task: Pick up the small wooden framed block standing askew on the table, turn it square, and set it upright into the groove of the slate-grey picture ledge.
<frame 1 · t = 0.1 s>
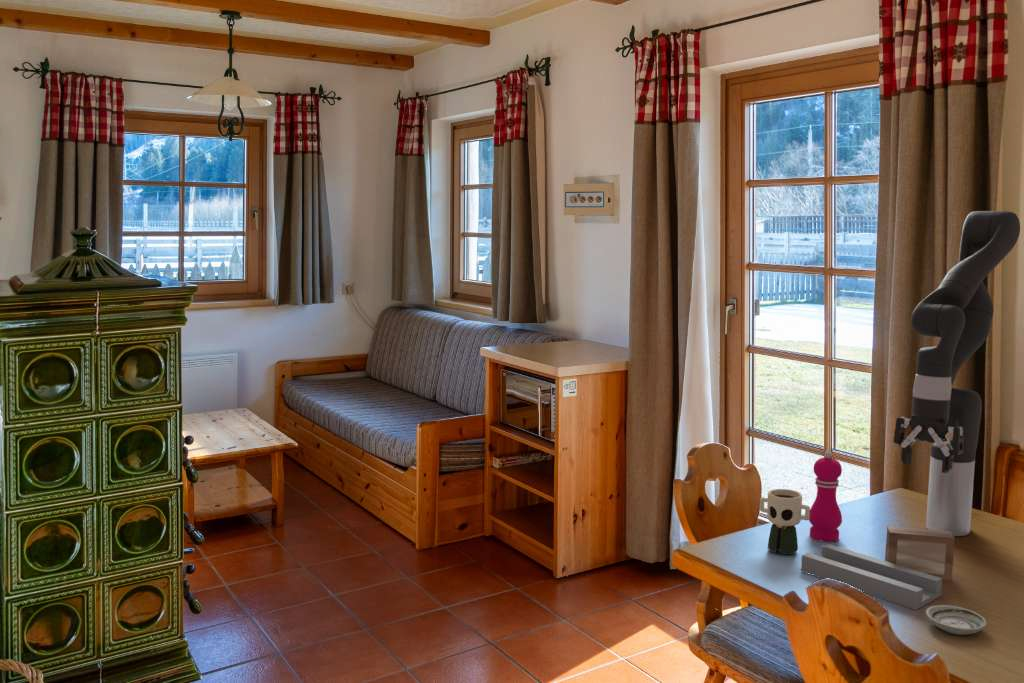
hand: (925, 468, 200), 17 cm above the table, tool pointing down, fingers open, 8 cm apart
wooden framed block: (917, 574, 185), on the table
picture ledge: (868, 583, 180), on the table
saucer: (954, 630, 161), on the table
pepper mill: (824, 537, 207), on the table
character mug: (782, 552, 198), on the table
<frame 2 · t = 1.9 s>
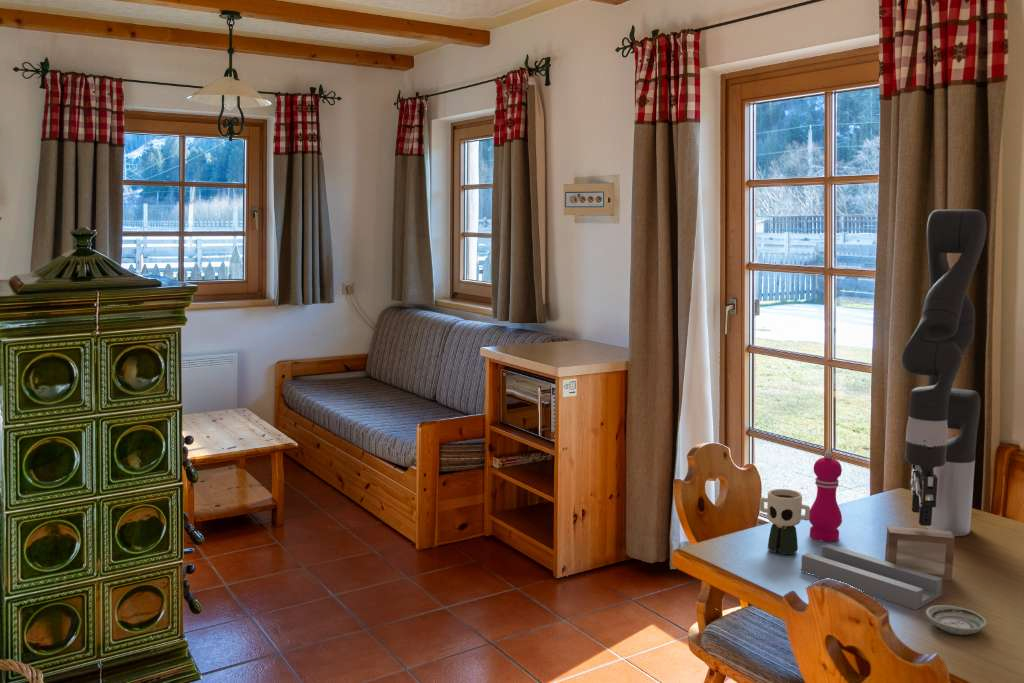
hand: (921, 518, 183), 12 cm above the table, tool pointing down, fingers open, 8 cm apart
nothing on the table moved.
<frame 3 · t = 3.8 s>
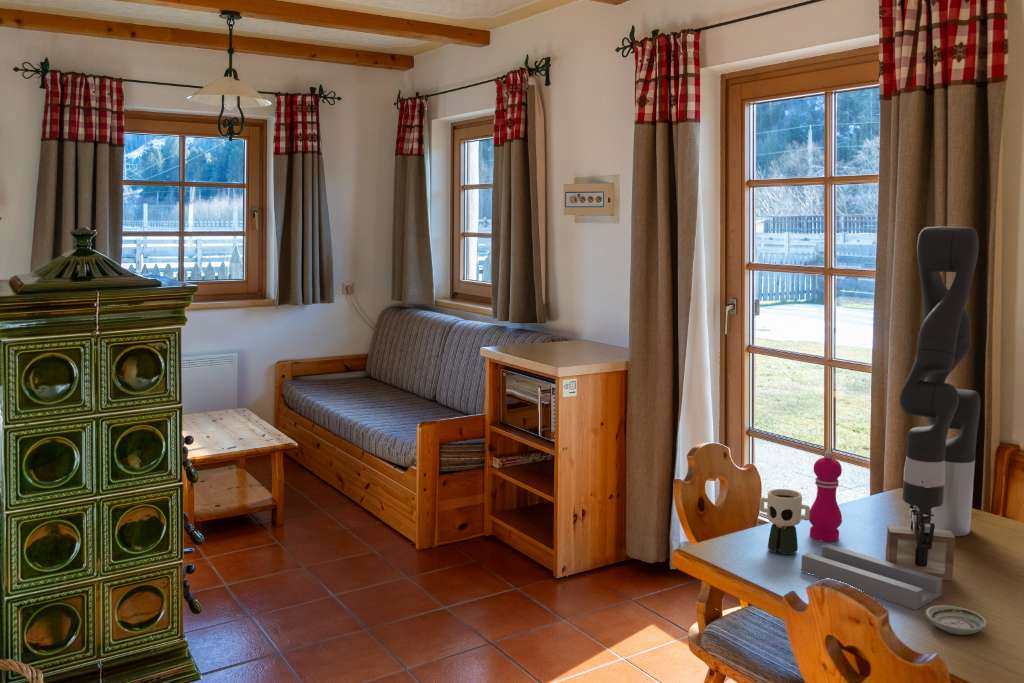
hand: (918, 561, 185), 3 cm above the table, tool pointing down, fingers closed on wooden framed block, 4 cm apart
wooden framed block: (918, 573, 185), on the table, touching gripper
everything else where it was.
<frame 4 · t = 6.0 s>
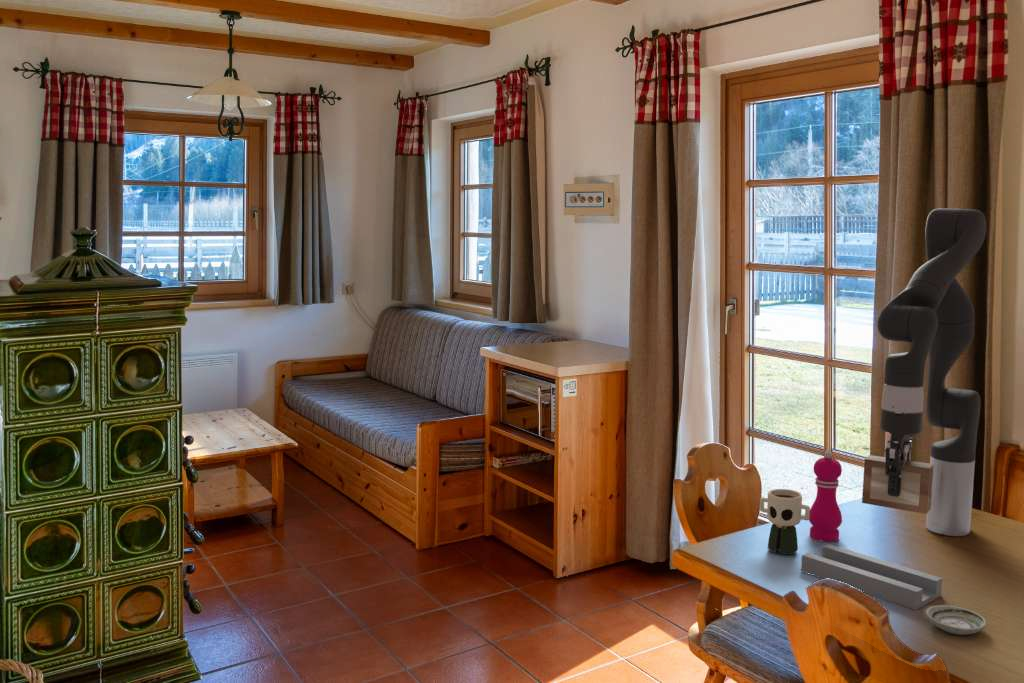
hand: (896, 492, 180), 18 cm above the table, tool pointing down, fingers closed on wooden framed block, 4 cm apart
wooden framed block: (895, 505, 180), point 15 cm above the table, touching gripper
everything else where it was.
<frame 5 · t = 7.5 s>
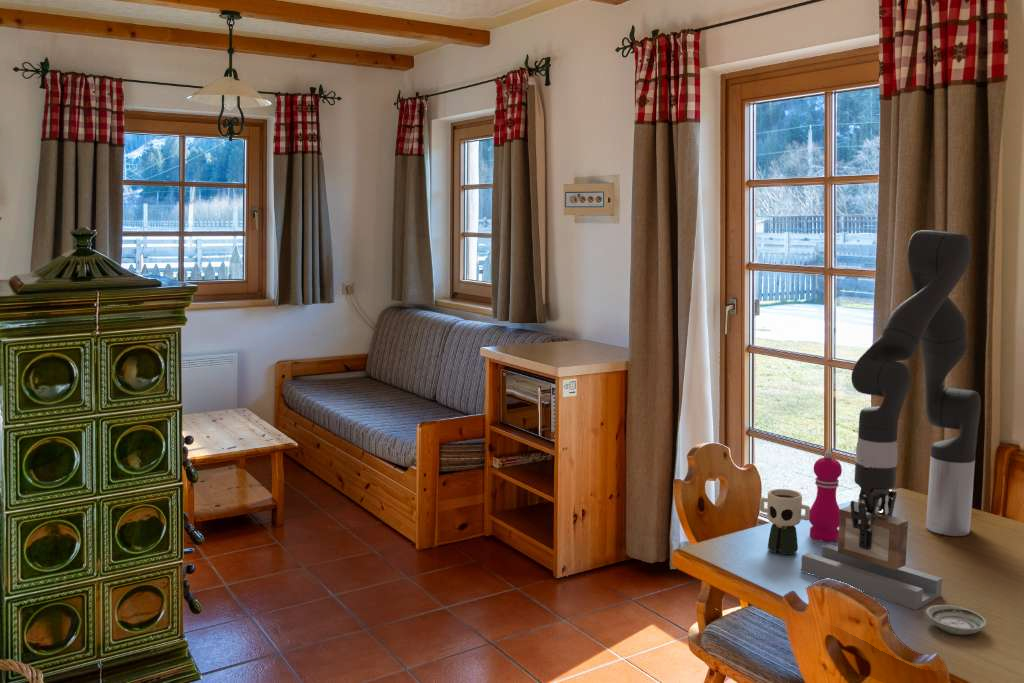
hand: (871, 545, 179), 8 cm above the table, tool pointing down, fingers closed on wooden framed block, 4 cm apart
wooden framed block: (870, 558, 180), point 5 cm above the table, touching gripper
everything else where it was.
when the fingers open (5 cm above the table, at t = 8.5 s): wooden framed block stays where it is, resting on picture ledge.
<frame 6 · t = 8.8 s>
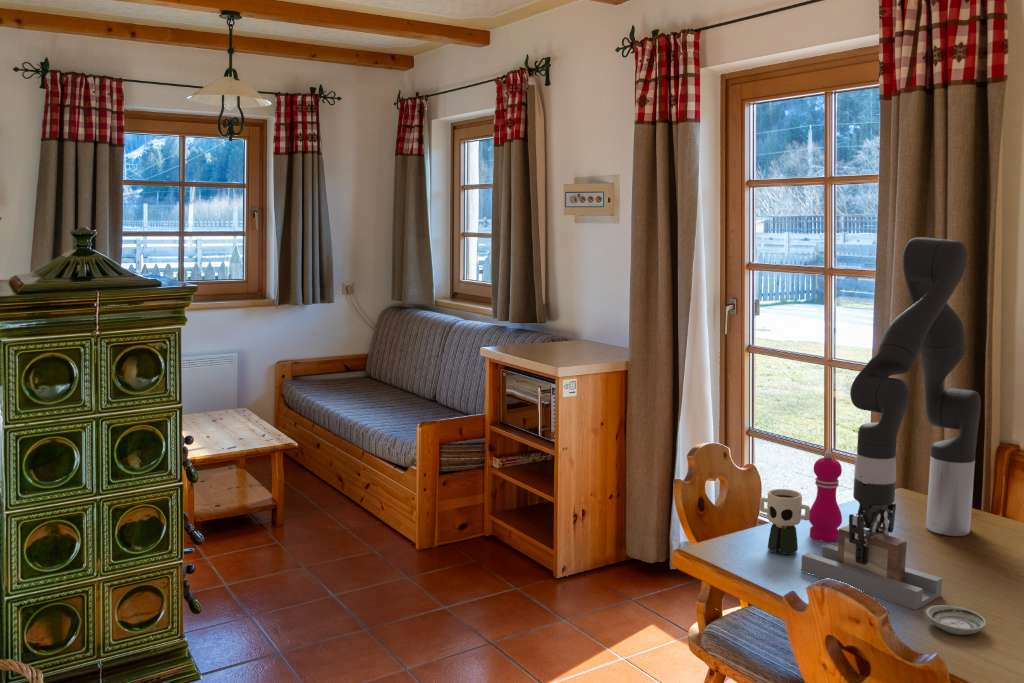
hand: (870, 558, 180), 5 cm above the table, tool pointing down, fingers open, 6 cm apart
wooden framed block: (869, 578, 180), point 1 cm above the table, touching picture ledge
everything else where it was.
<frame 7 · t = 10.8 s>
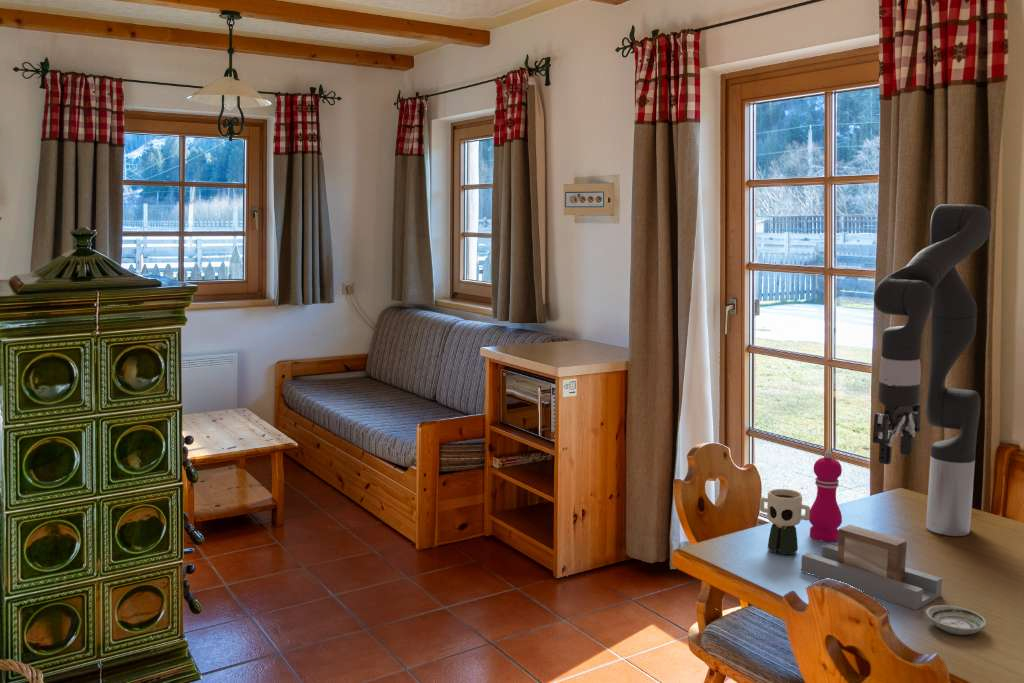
hand: (895, 458, 183), 24 cm above the table, tool pointing down, fingers open, 8 cm apart
nothing on the table moved.
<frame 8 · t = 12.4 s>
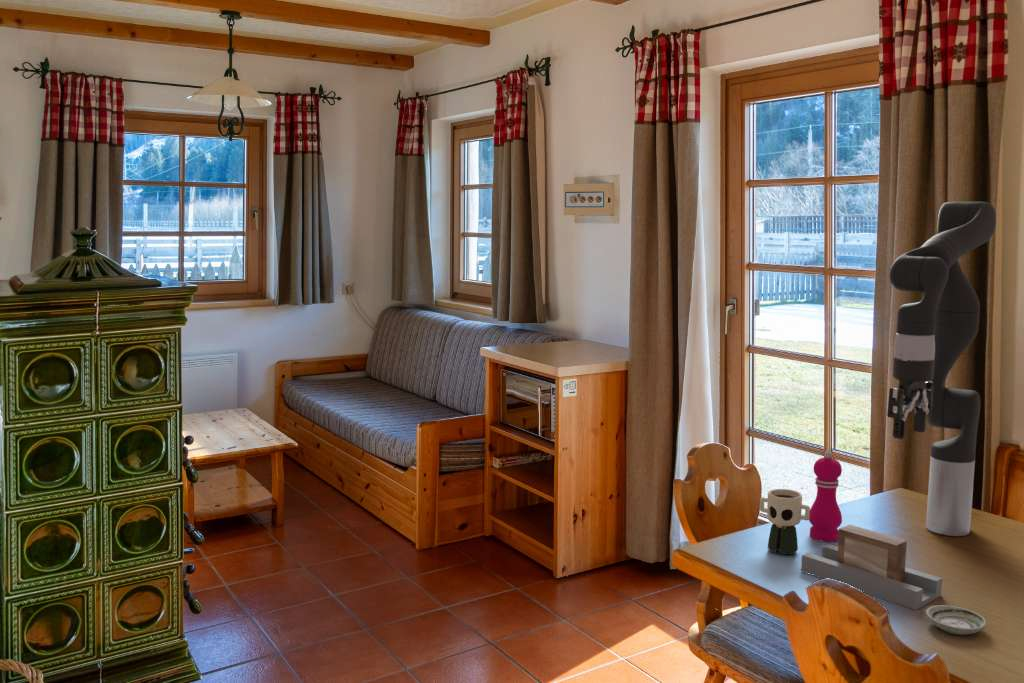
hand: (909, 434, 185), 28 cm above the table, tool pointing down, fingers open, 8 cm apart
nothing on the table moved.
at the end: wooden framed block inside the target area on the picture ledge (0.2 cm from its centre), point 1.0 cm above the picture ledge's base; wooden framed block tilted 0°; the gripper is holding nothing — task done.
